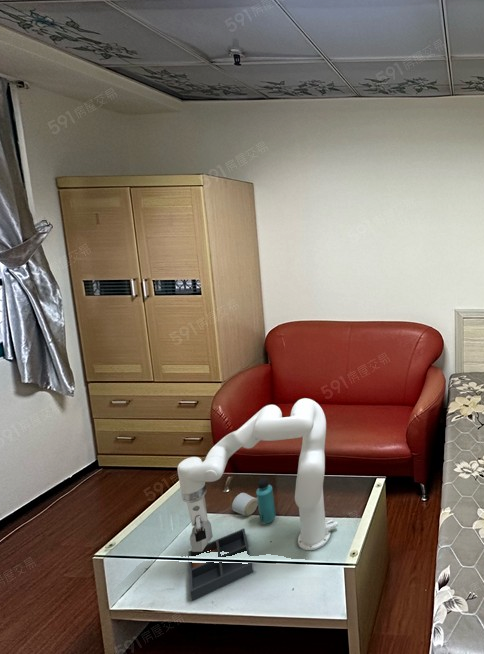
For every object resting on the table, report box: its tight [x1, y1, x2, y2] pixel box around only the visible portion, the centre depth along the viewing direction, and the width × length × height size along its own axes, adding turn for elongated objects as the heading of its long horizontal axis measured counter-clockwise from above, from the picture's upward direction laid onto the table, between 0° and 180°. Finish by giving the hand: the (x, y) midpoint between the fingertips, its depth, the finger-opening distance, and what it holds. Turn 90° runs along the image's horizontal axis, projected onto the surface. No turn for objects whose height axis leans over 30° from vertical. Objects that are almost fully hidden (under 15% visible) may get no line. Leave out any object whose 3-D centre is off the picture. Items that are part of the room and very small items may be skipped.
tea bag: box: [189, 518, 214, 552], centre depth 152 cm, size 4×7×10 cm, turn 179°
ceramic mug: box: [231, 492, 258, 517], centre depth 180 cm, size 11×8×8 cm
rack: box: [187, 528, 254, 602], centre depth 153 cm, size 19×19×4 cm
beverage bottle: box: [255, 477, 277, 524], centre depth 173 cm, size 6×7×20 cm
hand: (200, 531), depth 152 cm, fingers closed on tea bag, 7 cm apart
